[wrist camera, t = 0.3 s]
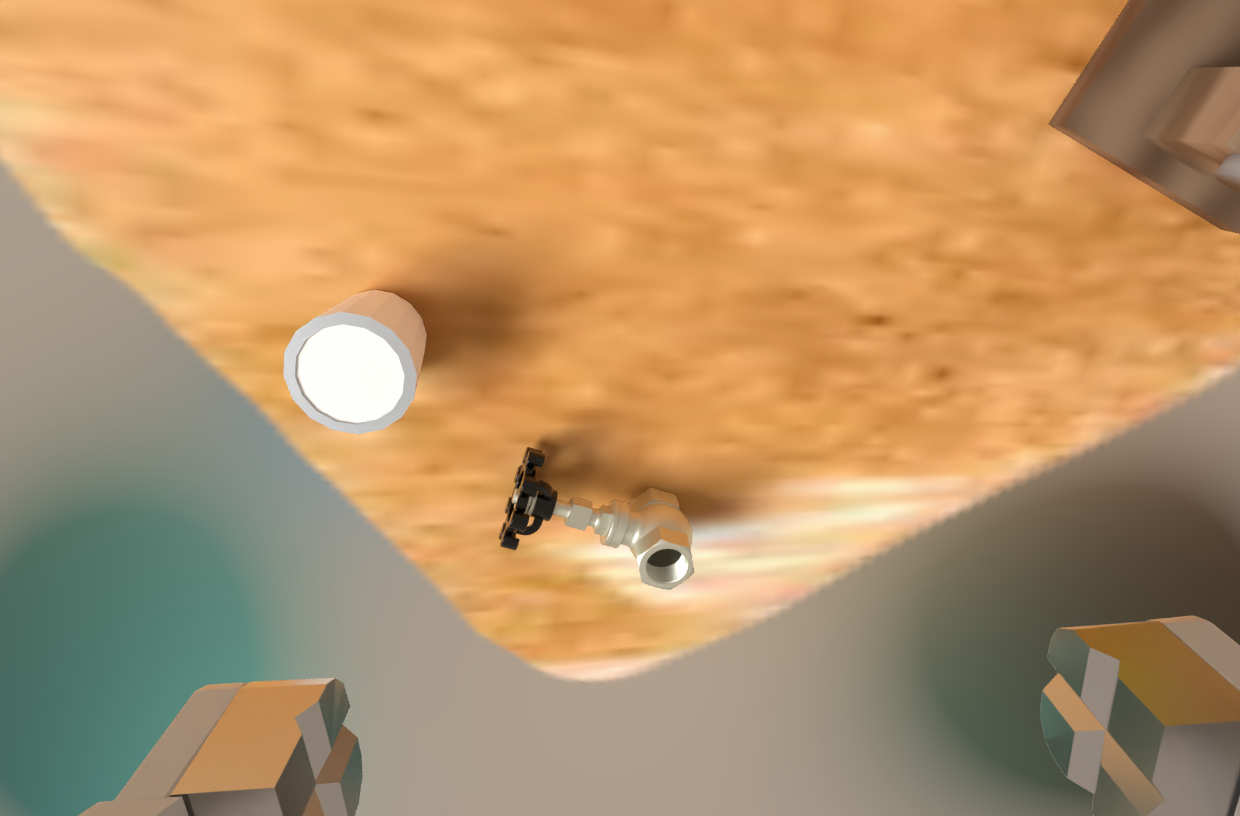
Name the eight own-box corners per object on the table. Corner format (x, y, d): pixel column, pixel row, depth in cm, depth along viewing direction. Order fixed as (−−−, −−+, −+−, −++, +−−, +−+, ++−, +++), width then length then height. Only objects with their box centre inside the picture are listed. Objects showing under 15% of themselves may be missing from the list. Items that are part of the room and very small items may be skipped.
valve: (700, 478, 52) (531, 427, 49) (718, 531, 46) (527, 476, 43) (664, 555, 54) (502, 510, 52) (677, 616, 48) (494, 568, 46)
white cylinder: (456, 363, 47) (439, 407, 41) (357, 403, 48) (325, 453, 41) (403, 261, 44) (376, 292, 38) (299, 305, 45) (255, 343, 39)
